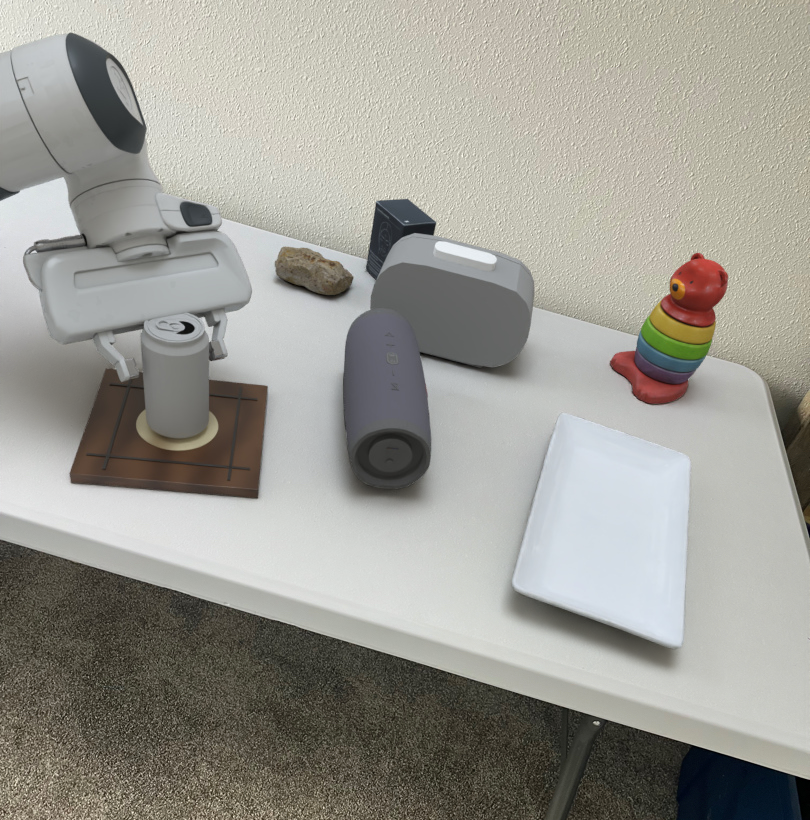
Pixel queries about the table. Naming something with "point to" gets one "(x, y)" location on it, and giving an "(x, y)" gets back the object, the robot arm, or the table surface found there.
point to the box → (394, 229)
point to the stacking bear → (675, 333)
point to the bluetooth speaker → (385, 401)
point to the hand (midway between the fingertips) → (176, 369)
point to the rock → (312, 271)
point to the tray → (609, 531)
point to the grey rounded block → (458, 298)
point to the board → (173, 442)
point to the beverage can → (176, 375)
